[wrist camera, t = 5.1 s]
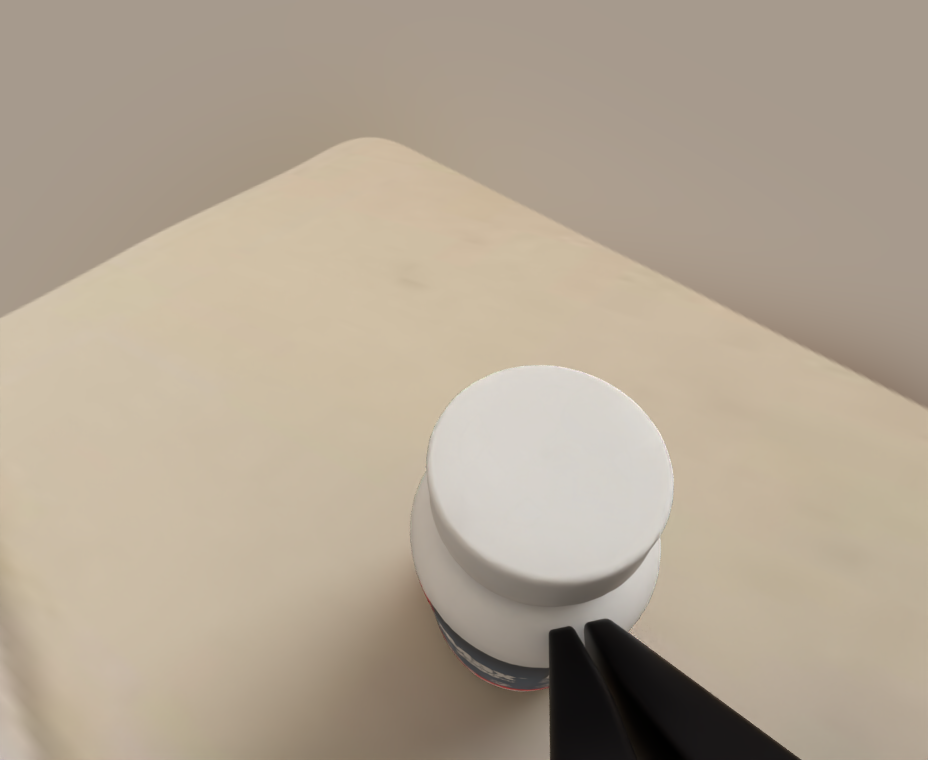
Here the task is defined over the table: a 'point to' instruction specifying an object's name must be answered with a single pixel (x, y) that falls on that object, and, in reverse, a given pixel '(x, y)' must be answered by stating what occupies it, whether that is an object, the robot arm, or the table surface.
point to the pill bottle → (538, 517)
